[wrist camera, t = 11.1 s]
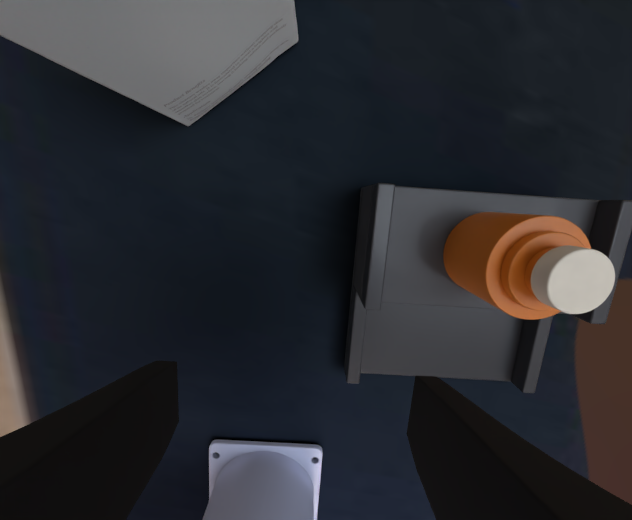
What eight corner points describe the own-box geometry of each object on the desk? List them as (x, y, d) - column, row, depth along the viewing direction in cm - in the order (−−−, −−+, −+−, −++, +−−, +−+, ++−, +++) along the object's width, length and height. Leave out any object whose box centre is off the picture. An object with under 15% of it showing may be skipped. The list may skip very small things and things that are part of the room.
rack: (516, 377, 20) (576, 430, 16) (343, 367, 20) (353, 418, 15) (555, 201, 18) (640, 201, 13) (360, 187, 18) (378, 182, 13)
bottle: (514, 293, 15) (626, 344, 10) (437, 288, 15) (506, 337, 10) (531, 214, 15) (662, 222, 9) (449, 209, 14) (532, 214, 9)
